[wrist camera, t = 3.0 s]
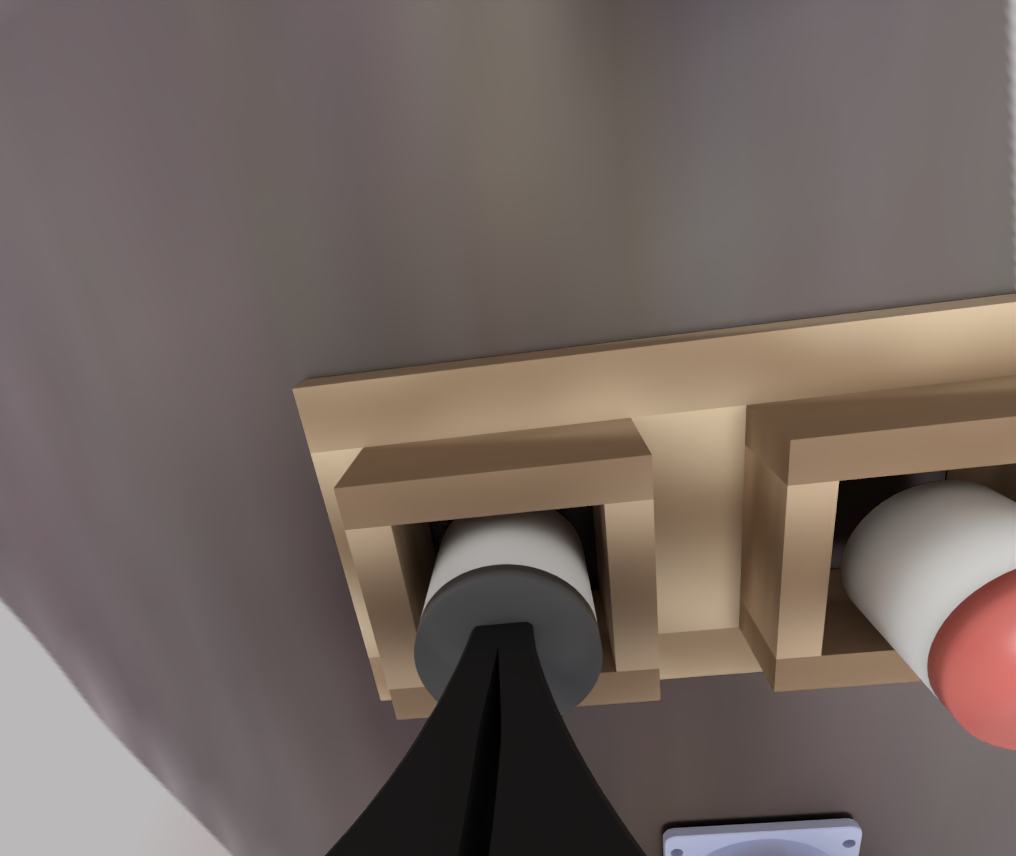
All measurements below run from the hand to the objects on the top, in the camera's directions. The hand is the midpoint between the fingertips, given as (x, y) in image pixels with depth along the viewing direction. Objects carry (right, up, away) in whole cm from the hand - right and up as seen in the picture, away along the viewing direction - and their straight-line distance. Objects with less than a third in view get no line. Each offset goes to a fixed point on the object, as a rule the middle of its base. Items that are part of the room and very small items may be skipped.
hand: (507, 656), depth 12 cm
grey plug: (0, +1, +4) cm, 4 cm away
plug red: (+11, +2, +1) cm, 11 cm away
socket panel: (+6, +3, +5) cm, 8 cm away
